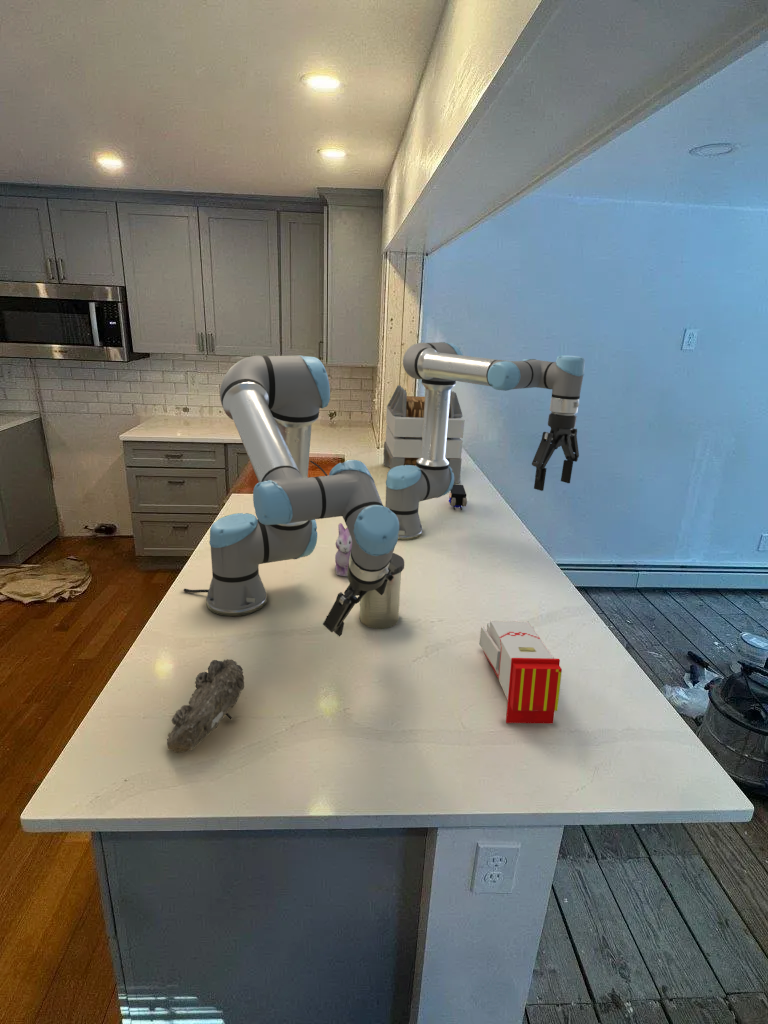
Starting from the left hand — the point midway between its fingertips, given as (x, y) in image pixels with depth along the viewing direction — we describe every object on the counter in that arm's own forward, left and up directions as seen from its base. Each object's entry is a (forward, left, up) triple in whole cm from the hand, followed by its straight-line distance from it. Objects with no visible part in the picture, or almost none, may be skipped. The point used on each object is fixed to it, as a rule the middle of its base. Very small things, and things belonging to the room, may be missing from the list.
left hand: (357, 610), depth 124 cm
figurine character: (+19, +112, -12) cm, 114 cm away
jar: (+2, +18, -12) cm, 22 cm away
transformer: (0, +157, -12) cm, 158 cm away
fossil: (-23, -25, -12) cm, 36 cm away
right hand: (+47, +56, +16) cm, 75 cm away
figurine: (-11, +43, -12) cm, 46 cm away
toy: (+35, -2, -12) cm, 37 cm away
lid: (+2, +18, +4) cm, 19 cm away
